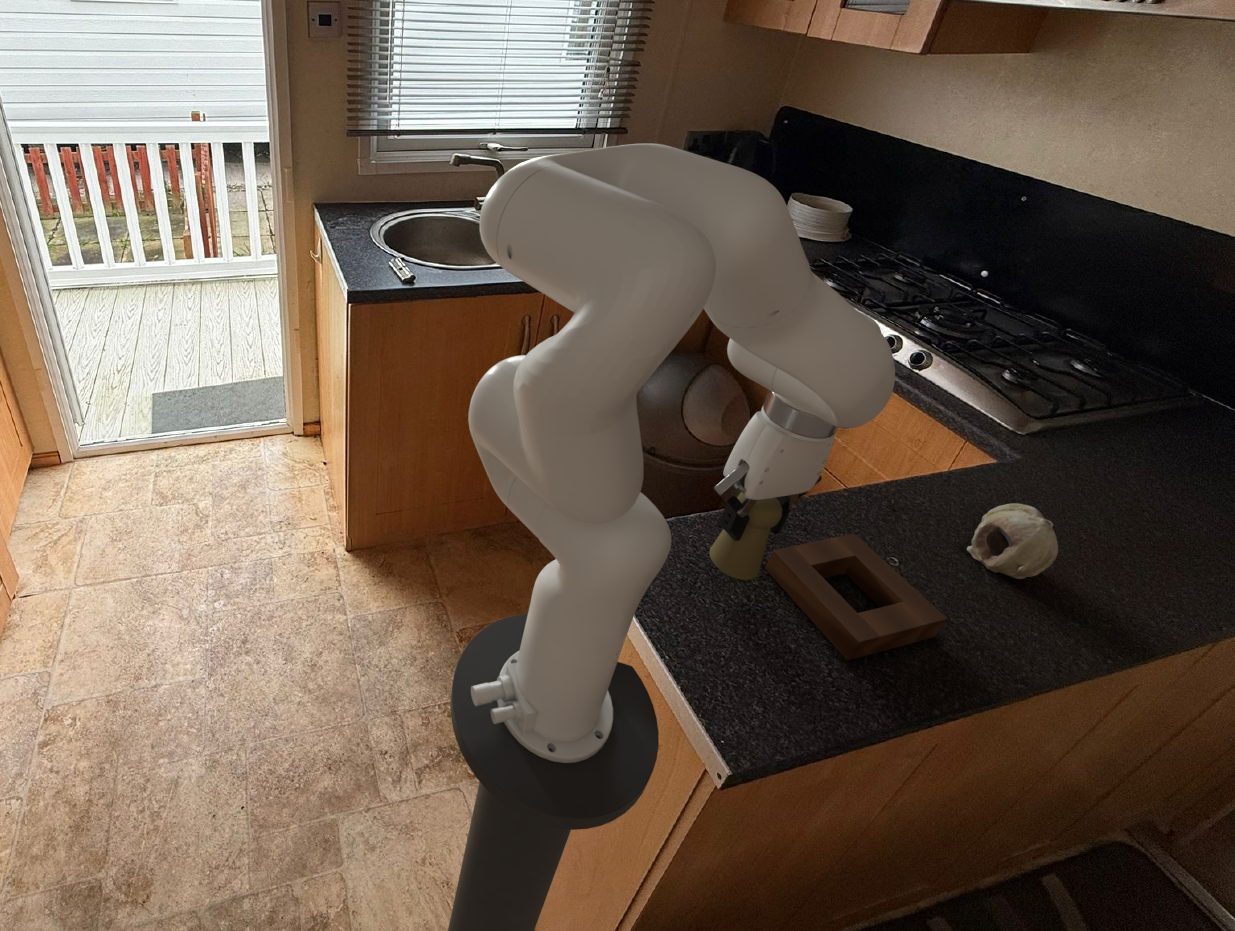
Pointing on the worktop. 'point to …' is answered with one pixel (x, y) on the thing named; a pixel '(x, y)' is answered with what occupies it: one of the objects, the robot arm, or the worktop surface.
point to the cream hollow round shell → (1015, 541)
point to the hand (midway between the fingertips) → (748, 527)
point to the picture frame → (846, 629)
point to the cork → (747, 541)
